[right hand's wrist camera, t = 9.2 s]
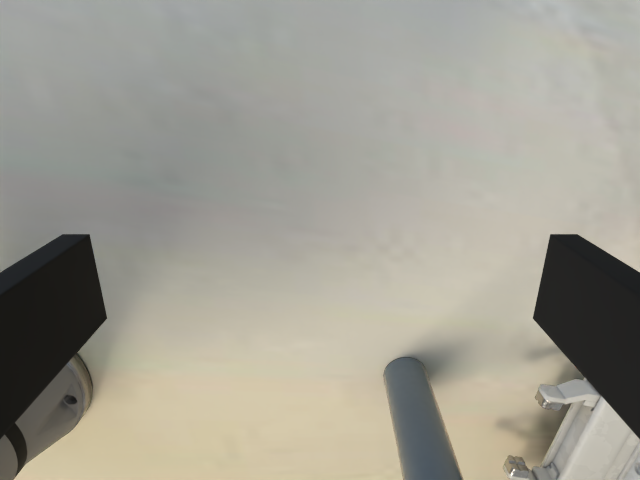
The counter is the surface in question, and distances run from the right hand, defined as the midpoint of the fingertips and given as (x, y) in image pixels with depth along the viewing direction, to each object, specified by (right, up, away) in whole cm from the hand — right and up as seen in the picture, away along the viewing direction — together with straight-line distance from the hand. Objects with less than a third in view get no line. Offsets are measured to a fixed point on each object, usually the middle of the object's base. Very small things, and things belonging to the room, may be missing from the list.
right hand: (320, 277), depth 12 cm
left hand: (+20, -18, +30) cm, 41 cm away
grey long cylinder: (+10, -14, +35) cm, 39 cm away
